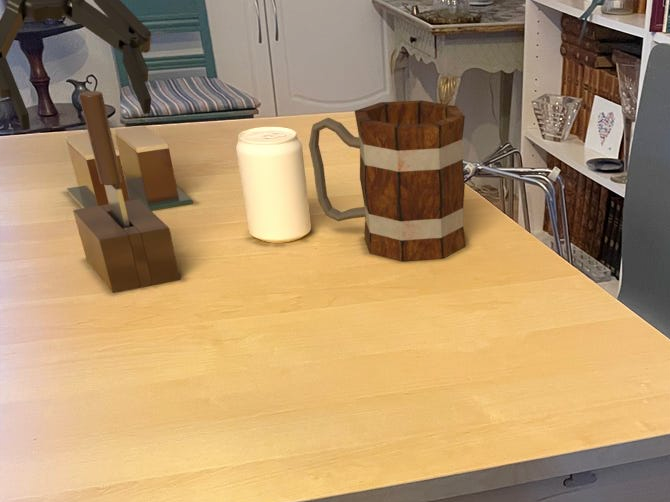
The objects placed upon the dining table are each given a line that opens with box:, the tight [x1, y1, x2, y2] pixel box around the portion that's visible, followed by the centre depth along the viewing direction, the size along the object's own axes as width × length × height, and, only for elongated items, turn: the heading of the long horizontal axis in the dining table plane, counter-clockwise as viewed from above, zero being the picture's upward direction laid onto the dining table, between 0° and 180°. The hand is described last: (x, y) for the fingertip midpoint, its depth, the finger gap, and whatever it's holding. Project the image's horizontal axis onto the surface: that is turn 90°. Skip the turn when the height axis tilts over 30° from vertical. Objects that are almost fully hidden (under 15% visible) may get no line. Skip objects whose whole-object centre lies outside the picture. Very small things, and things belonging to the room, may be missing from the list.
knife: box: [78, 90, 130, 229], centre depth 108 cm, size 6×2×19 cm, turn 31°
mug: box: [308, 99, 466, 262], centre depth 117 cm, size 20×14×15 cm
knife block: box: [73, 199, 181, 294], centre depth 112 cm, size 12×8×6 cm, turn 32°
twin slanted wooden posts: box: [65, 125, 193, 211], centre depth 132 cm, size 14×14×8 cm
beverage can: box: [235, 126, 312, 244], centre depth 120 cm, size 8×8×12 cm
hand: (88, 114), depth 106 cm, fingers open, 13 cm apart
